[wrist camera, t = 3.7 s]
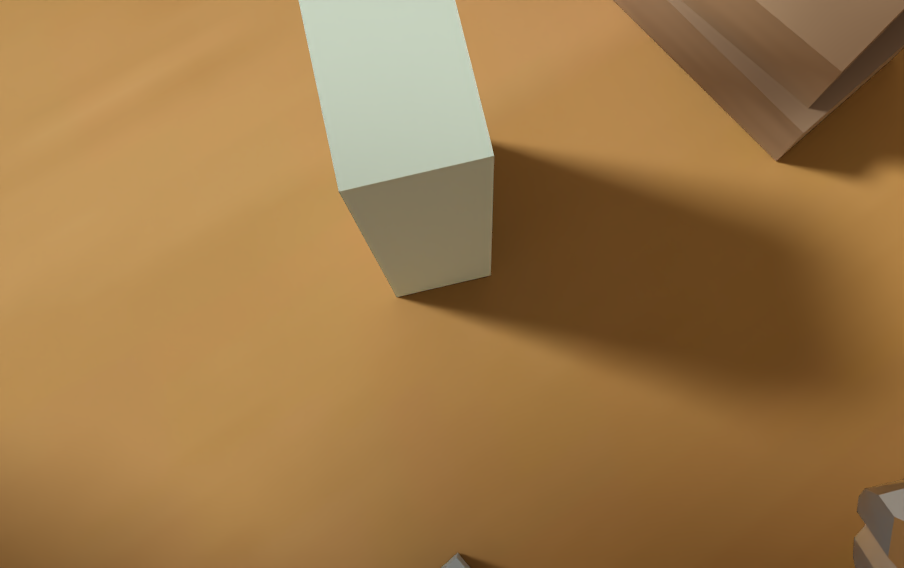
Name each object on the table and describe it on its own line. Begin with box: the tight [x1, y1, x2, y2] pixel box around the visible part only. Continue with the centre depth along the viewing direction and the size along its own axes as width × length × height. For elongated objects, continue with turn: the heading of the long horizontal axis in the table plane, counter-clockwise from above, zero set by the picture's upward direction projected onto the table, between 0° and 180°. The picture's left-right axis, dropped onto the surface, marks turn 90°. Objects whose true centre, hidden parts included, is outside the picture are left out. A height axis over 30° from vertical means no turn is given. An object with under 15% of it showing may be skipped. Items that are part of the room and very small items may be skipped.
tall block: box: [299, 0, 494, 297], centre depth 18 cm, size 2×4×9 cm, turn 13°
